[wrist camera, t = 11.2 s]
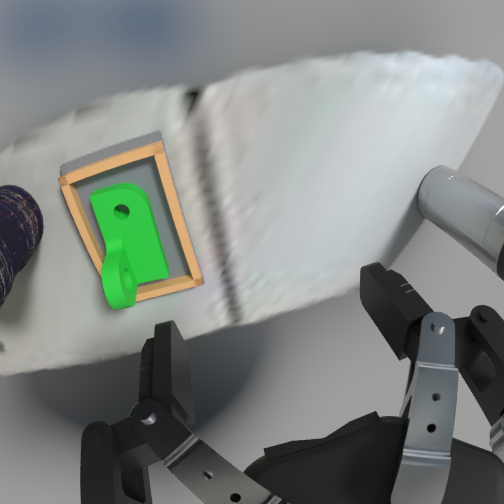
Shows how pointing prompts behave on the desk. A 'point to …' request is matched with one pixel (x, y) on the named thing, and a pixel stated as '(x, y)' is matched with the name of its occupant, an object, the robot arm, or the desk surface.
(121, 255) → the mechanical part
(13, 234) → the storage jar
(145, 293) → the fitting jig
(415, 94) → the desk surface
